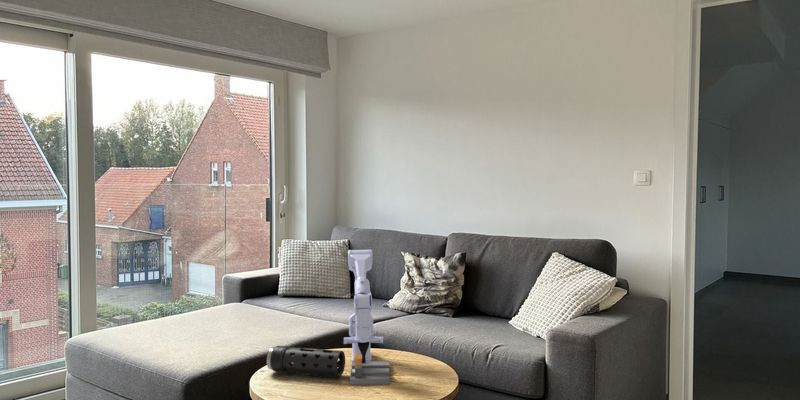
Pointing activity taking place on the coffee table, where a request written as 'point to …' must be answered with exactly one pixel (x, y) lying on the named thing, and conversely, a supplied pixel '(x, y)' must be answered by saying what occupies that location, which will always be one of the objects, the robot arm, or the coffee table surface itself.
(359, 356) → the handle
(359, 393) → the coffee table surface
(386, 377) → the box
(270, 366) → the muzzle brake
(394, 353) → the coffee table surface
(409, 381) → the coffee table surface
